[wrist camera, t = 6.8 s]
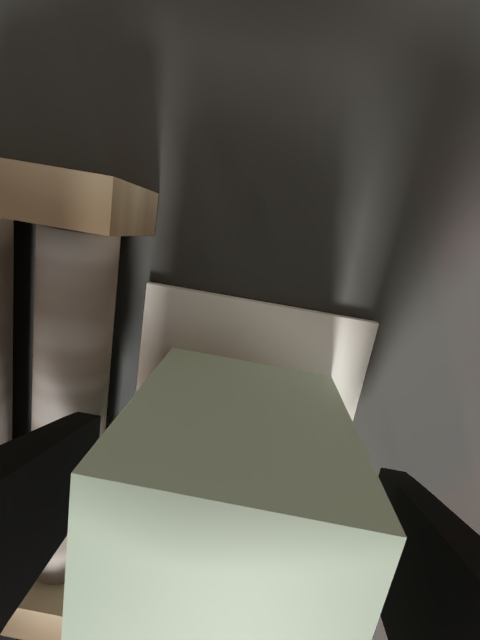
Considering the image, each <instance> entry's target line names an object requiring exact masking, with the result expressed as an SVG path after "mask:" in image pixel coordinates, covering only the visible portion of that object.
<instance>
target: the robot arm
mask: <svg viewBox="0 0 480 640" xmlns="http://www.w3.org/2000/svg"><path fill="white" fill-rule="evenodd" d="M100 423H101V416H100V415H94V414H89V413H83V412H75V413H72V414H70V415H67V416H65V417H62V418H60V419H58V420H55V421H53V422H51V423H49V424H46V425H44V426H42V427H40V428H38V429H35V430H33V431H31V432H29V433H26V434H24V435H22V436H19V437H17V438H15V439H13V440H10V441H8V442H6V443H4V444H1V445H0V634H1V632H2V631H3V629H4V627H5V626H6V624H7V623H8V621H9V620H10V618H11V617H12V615H13V614H14V612H15V611H16V610H17V608H18V607H19V605H20V604H21V602H22V601H23V599H24V598H25V596H26V595H27V593H28V592H29V590H30V589H31V588H32V586H33V585H34V583H35V582H36V580H37V579H38V577H39V576H40V574H41V573H42V571H43V570H44V569H45V567H46V566H47V564H48V563H49V561H50V560H51V558H52V557H53V555H54V554H55V552H56V551H57V549H58V548H59V547H60V545H61V544H62V542H63V541H64V539H65V538H66V536H67V532H68V515H69V498H70V481H71V472H72V471H73V470H74V469H75V467H76V466H77V465H78V464H79V463H80V461H81V460H82V459H83V458H84V456H85V455H86V454H87V453H88V451H89V450H90V449H91V448H92V446H93V445H94V444H95V443H96V441H97V440H98V439H99V436H100ZM378 477H379V479H380V481H381V483H382V486H383V488H384V490H385V492H386V494H387V496H388V498H389V501H390V503H391V505H392V507H393V509H394V511H395V513H396V515H397V518H398V520H399V522H400V524H401V526H402V528H403V530H404V533H405V535H406V537H407V539H406V542H405V545H404V548H403V551H402V554H401V557H400V559H399V562H398V565H397V568H396V571H395V574H394V577H393V580H392V582H391V585H390V588H389V591H388V594H387V597H386V600H385V603H384V605H383V608H382V611H381V614H380V615H381V618H382V622H383V625H384V628H385V631H386V634H387V637H388V640H480V535H478V534H477V533H476V532H475V531H474V530H473V529H471V528H470V527H469V526H468V525H467V524H466V523H465V522H463V521H462V520H461V519H460V518H459V517H458V516H457V515H456V514H454V513H453V512H452V511H451V510H450V509H449V508H448V507H446V506H445V505H444V504H443V503H442V502H441V501H440V500H439V499H437V498H436V497H435V496H434V495H433V494H432V493H431V492H429V491H428V490H427V489H426V488H425V487H424V486H422V485H421V484H420V483H419V482H418V481H416V480H415V479H414V478H413V477H411V476H410V475H409V474H407V473H406V472H402V471H397V470H391V469H386V468H381V470H380V473H379V476H378Z"/></svg>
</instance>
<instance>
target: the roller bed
mask: <svg viewBox="0 0 480 640" xmlns="http://www.w3.org/2000/svg"><path fill="white" fill-rule="evenodd" d="M158 198H159V193H156V192H153V191H151V190H148V189H145V188H143V187H140V186H138V185H135V184H132V183H130V182H127V181H124V180H122V179H119V178H116V177H114V176H108V175H102V174H96V173H90V172H84V171H78V170H72V169H66V168H60V167H54V166H48V165H42V164H36V163H30V162H24V161H18V160H13V159H7V158H1V157H0V445H1V444H4V443H6V442H8V441H10V440H12V398H13V261H14V220H17V221H22V222H28V223H34V224H36V238H35V284H34V329H33V374H32V419H31V431H33V430H35V429H38V428H40V427H42V426H44V425H46V424H49V423H51V422H53V421H55V420H58V419H60V418H62V417H65V416H67V415H70V414H72V413H75V412H83V413H89V414H94V415H100V416H101V423H100V436H99V438H100V437H101V435H102V434H103V433H104V432H105V429H106V416H107V404H108V391H109V378H110V366H111V353H112V341H113V328H114V316H115V303H116V291H117V278H118V266H119V253H120V241H121V236H155V227H156V218H157V208H158ZM378 326H379V323H378V322H376V321H372V320H366V319H360V318H355V317H349V316H343V315H338V314H332V313H326V312H320V311H315V310H309V309H303V308H298V307H292V306H286V305H280V304H275V303H269V302H263V301H257V300H252V299H246V298H240V297H235V296H229V295H223V294H217V293H212V292H206V291H200V290H195V289H189V288H183V287H177V286H172V285H166V284H160V283H154V282H148V283H147V286H146V296H145V306H144V316H143V326H142V336H141V346H140V356H139V366H138V376H137V386H136V392H137V391H138V389H139V388H140V387H141V386H142V384H143V383H144V382H145V381H146V380H147V378H148V377H149V376H150V375H151V373H152V372H153V371H154V370H155V368H156V367H157V366H158V365H159V363H160V362H161V361H162V360H163V358H164V357H165V356H166V355H167V354H168V352H169V351H170V350H171V349H172V347H173V348H179V349H184V350H190V351H195V352H201V353H206V354H212V355H217V356H223V357H228V358H233V359H239V360H244V361H250V362H255V363H261V364H266V365H272V366H277V367H283V368H288V369H294V370H299V371H305V372H310V373H316V374H321V375H327V376H331V377H332V379H333V381H334V383H335V385H336V387H337V390H338V392H339V394H340V396H341V398H342V400H343V402H344V405H345V407H346V409H347V411H348V413H349V415H350V417H351V419H352V422H353V419H354V415H355V411H356V407H357V404H358V400H359V396H360V393H361V389H362V385H363V382H364V378H365V374H366V370H367V367H368V363H369V359H370V356H371V352H372V348H373V345H374V341H375V337H376V333H377V330H378ZM66 549H67V536H66V538H65V539H64V541H63V542H62V544H61V545H60V547H59V548H58V549H57V551H56V552H55V554H54V555H53V557H52V558H51V560H50V561H49V563H48V564H47V566H46V567H45V569H44V570H43V571H42V573H41V574H40V576H39V577H38V579H37V580H36V582H35V583H34V585H33V586H32V588H31V589H30V590H29V592H28V593H27V595H26V596H25V598H24V599H23V601H22V602H21V604H20V605H19V607H18V608H17V610H16V611H15V612H14V614H13V615H12V617H11V618H10V620H9V621H8V623H7V624H6V626H5V627H4V629H3V631H2V632H1V634H0V635H1V636H6V637H11V638H16V639H21V640H61V634H62V617H63V600H64V583H65V566H66Z"/></svg>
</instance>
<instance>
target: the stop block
mask: <svg viewBox="0 0 480 640" xmlns="http://www.w3.org/2000/svg"><path fill="white" fill-rule="evenodd" d="M406 539H407V537H406V535H405V533H404V530H403V528H402V526H401V524H400V522H399V520H398V518H397V515H396V513H395V511H394V509H393V507H392V505H391V503H390V501H389V498H388V496H387V494H386V492H385V490H384V488H383V486H382V483H381V481H380V479H379V477H378V475H377V473H376V471H375V469H374V466H373V464H372V462H371V460H370V458H369V456H368V454H367V451H366V449H365V447H364V445H363V443H362V441H361V439H360V437H359V434H358V432H357V430H356V428H355V426H354V424H353V422H352V419H351V417H350V415H349V413H348V411H347V409H346V407H345V405H344V402H343V400H342V398H341V396H340V394H339V392H338V390H337V387H336V385H335V383H334V381H333V379H332V377H331V376H327V375H321V374H316V373H310V372H305V371H299V370H294V369H288V368H283V367H277V366H272V365H266V364H261V363H255V362H250V361H244V360H239V359H233V358H228V357H223V356H217V355H212V354H206V353H201V352H195V351H190V350H184V349H179V348H173V347H172V349H171V350H170V351H169V352H168V354H167V355H166V356H165V357H164V358H163V360H162V361H161V362H160V363H159V365H158V366H157V367H156V368H155V370H154V371H153V372H152V373H151V375H150V376H149V377H148V378H147V380H146V381H145V382H144V383H143V384H142V386H141V387H140V388H139V389H138V391H137V392H136V393H135V394H134V396H133V397H132V398H131V399H130V401H129V402H128V403H127V404H126V406H125V407H124V408H123V409H122V410H121V412H120V413H119V414H118V415H117V417H116V418H115V419H114V420H113V422H112V423H111V424H110V425H109V427H108V428H107V429H106V430H105V432H104V433H103V434H102V435H101V437H100V438H99V439H98V440H97V441H96V443H95V444H94V445H93V446H92V448H91V449H90V450H89V451H88V453H87V454H86V455H85V456H84V458H83V459H82V460H81V461H80V463H79V464H78V465H77V466H76V467H75V469H74V470H73V471H72V472H71V481H70V498H69V515H68V532H67V549H66V566H65V583H64V600H63V617H62V634H61V640H372V637H373V634H374V631H375V628H376V626H377V623H378V620H379V617H380V614H381V611H382V608H383V605H384V603H385V600H386V597H387V594H388V591H389V588H390V585H391V582H392V580H393V577H394V574H395V571H396V568H397V565H398V562H399V559H400V557H401V554H402V551H403V548H404V545H405V542H406Z"/></svg>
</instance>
